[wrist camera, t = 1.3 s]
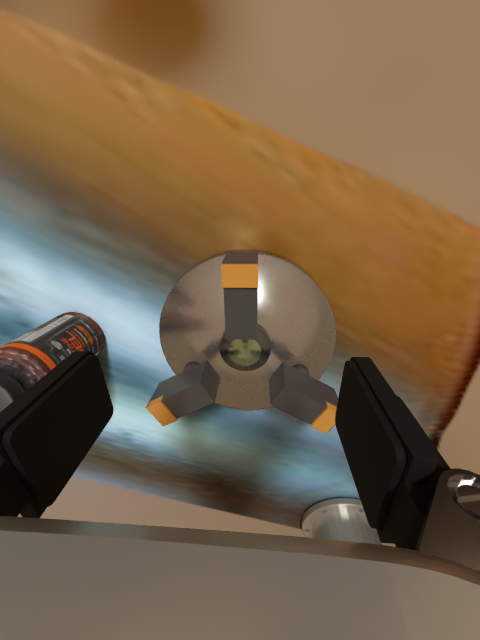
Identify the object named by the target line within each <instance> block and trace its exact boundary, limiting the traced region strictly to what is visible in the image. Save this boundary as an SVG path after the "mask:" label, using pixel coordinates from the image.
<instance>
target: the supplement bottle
mask: <svg viewBox="0 0 480 640" xmlns="http://www.w3.org/2000/svg"><path fill="white" fill-rule="evenodd" d="M103 344H104V337H103V334H102V331H101V329H100V327H99V326H98V325H97V324H96V323H95V322H94V321H93V320H92V319H91V318H89V317H87V316H86V315H83V314H81V313H76V312H68V313H64V314H61V315H59V316H57V317H55V318H54V319H52V320H50V321H48V322H46V323H44V324H43V325H41V326H39V327H37V328H35V329H33V330H32V331H30V332H28V333H26V334H24V335H23V336H21V337H19V338H17V339H15V340H13V341H12V342H10V343H8V344H6V345H5V346H3V347H1V348H0V412H1V411H2V410H3V409H5V408H6V407H7V406H8V405H9V404H11V403H12V402H13V401H14V400H16V399H17V398H18V397H19V396H20V395H22V394H23V393H24V392H25V391H26V390H28V389H29V388H30V387H31V386H32V385H34V384H35V383H36V382H37V381H39V380H40V379H41V378H42V377H43V376H45V375H46V374H47V373H48V372H49V371H51V370H52V369H53V368H54V367H55V366H57V365H58V364H59V363H60V362H62V361H63V360H64V359H65V358H66V357H68V356H69V355H70V354H71V353H72V352H74V351H91V352H93V353H94V355H96V356H97V354H99V352H100V351H101V350H102V348H103Z"/></svg>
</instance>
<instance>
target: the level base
mask: <svg viewBox="0 0 480 640" xmlns="http://www.w3.org/2000/svg"><path fill="white" fill-rule="evenodd" d="M228 252H258V262H259V265H258V315H257V340H245V339H226V335H225V313H224V291H223V288H222V272H221V264H222V260H223V259H224V257H225V256H226V254H227V253H228ZM228 252H224V253H220V254H217V255H214V256H212V257H210V258H207V259H205V260H204V261H202V262H200V263H199V264H197V265H196V266H195V267H193V268H192V269H191V270H189V271H188V272H187V273H186V274H185V275H184V276H183V277H182V278H181V279H180V280H179V281H178V282H177V284H176V285H175V286H174V287H173V289H172V290H171V292H170V293H169V295H168V297H167V299H166V301H165V303H164V306H163V309H162V312H161V318H160V333H159V334H160V341H161V346H162V349H163V353H164V355H165V358H166V360H167V362H168V364H169V365H170V367H171V369H172V370H173V372H174V373H175V374H176V375H177V374H179V373H181V372H183V370H184V368H185V365H186V364H187V363H188V362H190V361H196V362H198V363H202V362H204V361H206V360H208V362H209V363H210V364H211V366H212V367H213V368H214V370H215V371H216V372H217V374H218V375H219V376H220V382H219V386H218V391H217V395H216V400H215V403H216V404H219V405H223V406H226V407H230V408H237V409H249V410H250V409H264V408H270V407H274V406H272V405H270V390H269V379H270V377H271V376H272V375H273V373H274V372H275V371H276V369H277V368H278V367H279V365H280V364H281V363H282V362H284V363H286V364H288V365H290V366H293V365H296V364H303V365H305V366H306V367H307V368H308V370H309V374H310V376H311V377H313V378H314V379H316V380H319V379H320V378H321V376H322V375H323V373H324V372H325V370H326V369H327V367H328V365H329V363H330V361H331V358H332V355H333V352H334V348H335V342H336V326H335V319H334V315H333V312H332V309H331V307H330V304H329V302H328V300H327V298H326V297H325V295H324V294H323V292H322V290H321V289H320V287H319V286H318V285H317V283H316V282H315V281H314V280H313V278H312V277H311V276H310V275H309V274H308V273H307V272H306V271H304V270H303V269H302V268H301V267H300V266H298V265H296V264H295V263H293V262H292V261H290V260H288V259H286V258H284V257H281V256H279V255H276V254H273V253H269V252H265V251H259V250H234V251H228Z"/></svg>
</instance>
